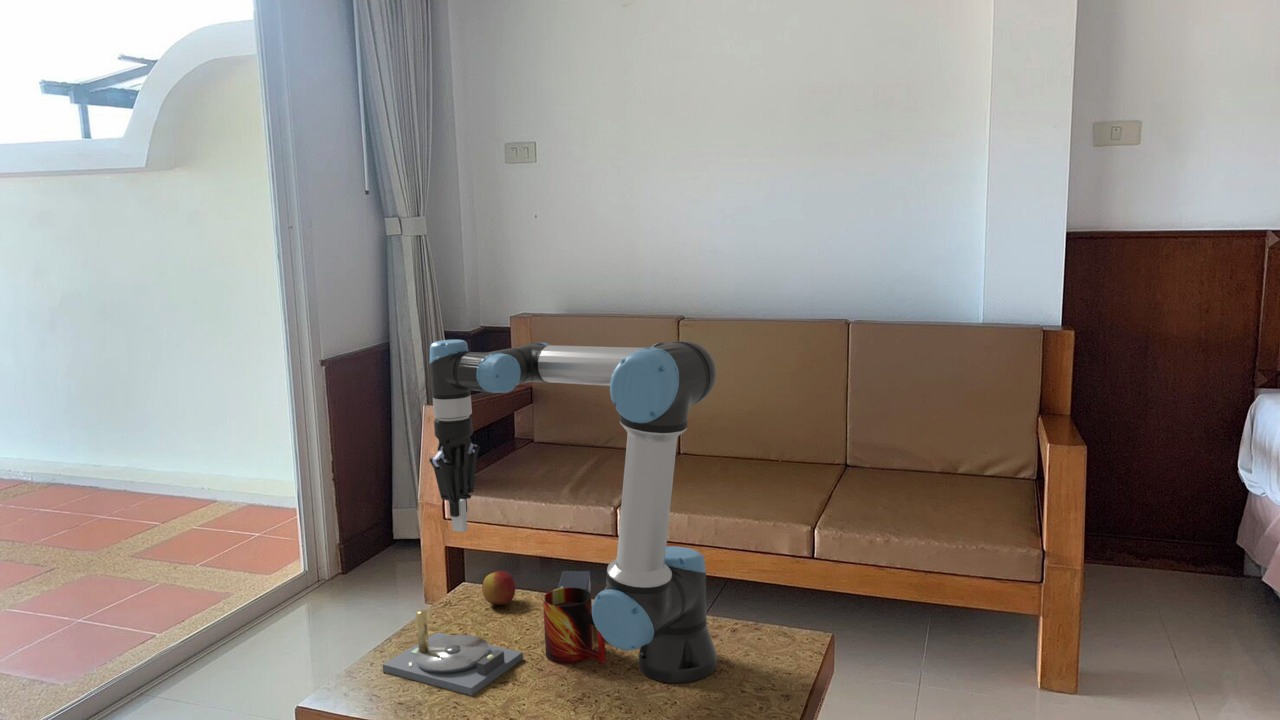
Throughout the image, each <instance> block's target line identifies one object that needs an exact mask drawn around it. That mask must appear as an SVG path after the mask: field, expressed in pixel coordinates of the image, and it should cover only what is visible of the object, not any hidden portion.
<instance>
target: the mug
mask: <svg viewBox="0 0 1280 720" xmlns="http://www.w3.org/2000/svg"><path fill="white" fill-rule="evenodd" d="M591 593H592V592H591ZM591 593H590V592H589V591H587V590H585V589H581V588H573V587H568V588H560V589H558V588H556V589H553V590H550V591H549V592H546V593H545V594H544V595H543V597H542V602H543V603H542V606H543V628H544V645H545V646H544V647H545V658H546V659H547V660H548V661H549V662H551V663H553V664H558V665H566V666H567V665H574V664H575V665H576V664H580V663H583V662H586V661H588V660H589V659H592V660H593V661H596V662H598V663H600V664H602V663H603V664H604V663H606V662H607V660H606V659H607V656H606V655H607V653H606V640H605V639H604V638H603V637H602V635H601V633H600V632H599V631H598V630H597V629H596V631H597V650H596V649H594V648H595V647H594V630H593V629H594V627H593V626H595V624H594V621H593V617H592V604H593V601H592V594H591ZM595 627H596V626H595Z"/></svg>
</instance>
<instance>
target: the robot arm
mask: <svg viewBox="0 0 1280 720" xmlns="http://www.w3.org/2000/svg"><path fill="white" fill-rule="evenodd" d="M428 364H429V368H430V369H429V370H430V378H431V379H430V381H431V393H432V394H431V395H432V407H433V417H434V420H433V426H434V427H433V428H434V437H435V438H436V439H437V440H438V446H437V453H436V454H435V456H430V458H429V463H430V464H431V466H432V469H433V470H434V476H435V479H436V483H437V488H438V492H439V495H440V498H441V501H448V502H449V515H450V517H451V529H452V531H453V532H458V533H465V532H466V531H468V517H467V516H468V515H467V513H468V500H469V499H471V498H472V494H473V492H474V491H475V483H476V482H475V481H476V470H477V459H478V458H477V457H478V454H479V451H480V445H479V444H473V442H472V439H471V436H472V435H473V432H474V430H473V429H474V428H473V418H472V416H470V415H471V414H472V413H473V411H472V409H473V408H472V407H473V406H472V396H471V391H475V392H484V393H491V394H498V393H499V394H500V393H501V394H506V393H510V392H512V391H513V390H514V389H515V387H517V386H519V385H522V384H528V383H534V382H535V383H557V384H570V385H588V386H591V385H592V386H604V387H605V386H609V391H610V399H611V401H612V402H611V403H613V404H614V405H615V406H616V407H615V409H616V411H617V414H619V415H620V417H619V423H620V425H621V426H622V427H623V428H624V430H625V431H626V433H627V434H626V435H627V438H626V439H627V440H626V449H625V460H624V461H625V462H624V472H623V483H622V492H621V493H622V494H621V507H620V518H619V531H618V542H617V549H616V550H617V552H616V558H615V559H614V560H612V561H611V562H610V563H608V565H607V568H606V578H605V579H606V580H605V587H604V589H603V590H601V591H600V592H598V593H597V595H596V596H595V597H594V599H593V601H592V617H593V621H594V624H595V629H596V631H597V630H598V631H599V632H600V633H601V635H602V637H603V638H604V639H605V642H607V643H608V644H609V645H611V646H613V647H614V648H616V649H619V650H621V651H622V650H623V651H635V650H638V649H639V651H638V668H639V669H640V670H639V671H641V673H643V674H644V675H645V676H647V677H648V678H650V679H653V680H655V681H659V682H664V683H674V684H679V683H681V684H682V683H691V682H695V681H700V680H702V679H705V678H707V677H708V676H710V675H711V674H712V673H713V672H714V671H715V670H716V669H717V665H718V664H717V663H718V659H717V656H718V655H717V650H716V648H715V645H714V642H713V639H712V637H711V634H710V632H709V628H708V622H707V616H708V615H707V614H708V612H707V569H706V560H705V557H704V555H703V554H702V553H701V552H699V551H698V550H696V549H692V548H689V547H684V546H683V547H682V546H674V545H673V546H669V545H667V542H668V531H669V523H670V522H669V521H670V515H671V514H670V512H671V503H672V501H671V500H672V493H673V482H674V474H675V473H674V472H675V464H676V463H675V462H676V456H677V455H676V452H677V444H678V437H679V436H680V435H682V434H683V433H685V432H686V431H687V429H688V424H689V423H688V421H689V413H690V407H692V406H694V405H696V404H699V403H701V402H702V401H703V400H705V399H706V398H707V397H708V396H709V395H710V393H711V392H712V391H713V389H714V386H715V383H716V381H717V380H716V379H717V367H716V363H715V360H714V358H713V356H712V355H711V353H710V352H709V351H708V350H707V349H706V347H704V346H702V345H701V344H699V343H697V342H694V341H689V340H680V341H679V340H677V341H674V342H657V343H656V342H655V343H654V344H653V345H652V346H651V347H650V346H648V347H631V346H630V347H628V346H627V347H626V346H625V347H624V346H623V347H622V346H621V347H619V346H594V345H593V346H591V345H590V346H589V345H588V346H586V345H585V346H583V345H554V344H553V345H552V344H550V343H547V342H535V343H534V342H533V343H529V344H526V345H525V344H524V345H521V346H516V347H511V348H505V349H500V350H499V349H498V350H494V351H489V352H488V351H487V352H479V351H478V352H475V351H474V352H473V351H470V349H469V346H468V343H467V340H463V339H444V340H443V339H441V340H436V341H434V342H432V343H431V345H430V346H429V362H428Z"/></svg>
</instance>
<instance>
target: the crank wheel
mask: <svg viewBox="0 0 1280 720" xmlns="http://www.w3.org/2000/svg"><path fill="white" fill-rule="evenodd" d="M427 617H428V616H427V610H426V609H418V610H416V611H415V619H416V620H415V622H416V633H417V644H418V651H417V653H416V659H417V664H418V666H419V667H421V668H422V669H424V670H427V671H430V672H437V673H450V672H458V671H463V670H466V669H469V668H472V667H475V666H477V662H479V661H480V660H482V659H483V658H485V657H486V656H488V654H489V646H488V644H489V643H488V642H487V641H486V640H485V639H483V638H482V637H479V636H476V635H473V634H452V635H451V634H449V635H450V636H445V637H441V638H437V639H434V640H432V641H429V642H428V637H429V635H428V634H429V633H428V632H429V631H428V630H429V629H428V619H427Z"/></svg>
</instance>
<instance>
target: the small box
mask: <svg viewBox="0 0 1280 720" xmlns="http://www.w3.org/2000/svg"><path fill="white" fill-rule="evenodd" d="M590 573H591V571H589V570H583V571H582V570H579V571H578V570H574V571H573V570H563V571H562V573H561V576H560V579H559V580H560V581H559V583H558V586H557V589H560V588H568V587H573V588H581V589H585V590H587V591H589V592H590V593H592V592H591V591H592V590H591V574H590Z"/></svg>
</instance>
